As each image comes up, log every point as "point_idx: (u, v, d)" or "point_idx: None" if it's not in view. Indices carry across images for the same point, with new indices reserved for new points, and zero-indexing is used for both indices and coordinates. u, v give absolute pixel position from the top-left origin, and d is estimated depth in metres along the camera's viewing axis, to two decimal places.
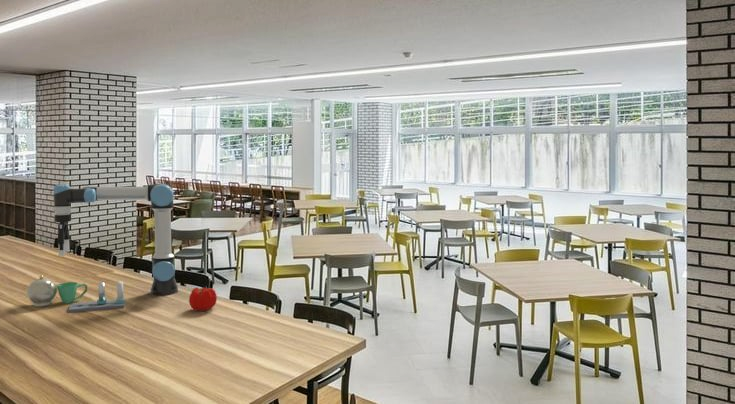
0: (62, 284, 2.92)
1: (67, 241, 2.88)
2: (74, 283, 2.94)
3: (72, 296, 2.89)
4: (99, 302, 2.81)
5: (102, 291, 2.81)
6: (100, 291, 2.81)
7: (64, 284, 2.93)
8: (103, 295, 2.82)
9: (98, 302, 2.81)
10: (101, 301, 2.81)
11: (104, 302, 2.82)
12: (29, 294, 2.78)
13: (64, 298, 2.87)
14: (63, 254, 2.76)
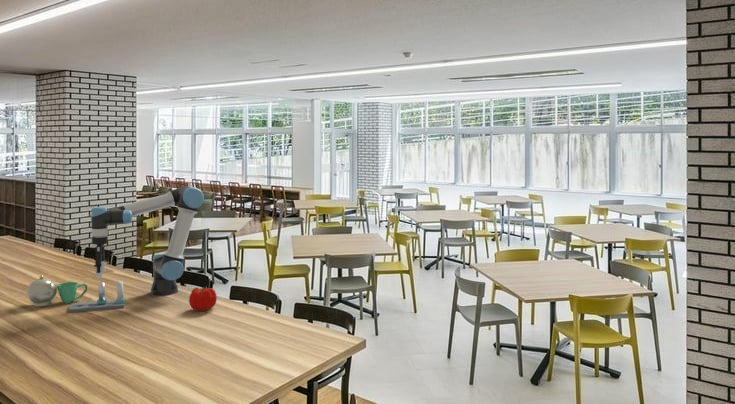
0: (62, 284, 2.92)
1: (103, 263, 2.87)
2: (74, 283, 2.94)
3: (72, 296, 2.89)
4: (99, 302, 2.81)
5: (102, 291, 2.81)
6: (100, 291, 2.81)
7: (64, 284, 2.93)
8: (103, 295, 2.82)
9: (98, 302, 2.81)
10: (101, 301, 2.81)
11: (104, 302, 2.82)
12: (29, 294, 2.78)
13: (64, 298, 2.87)
14: (100, 277, 2.75)
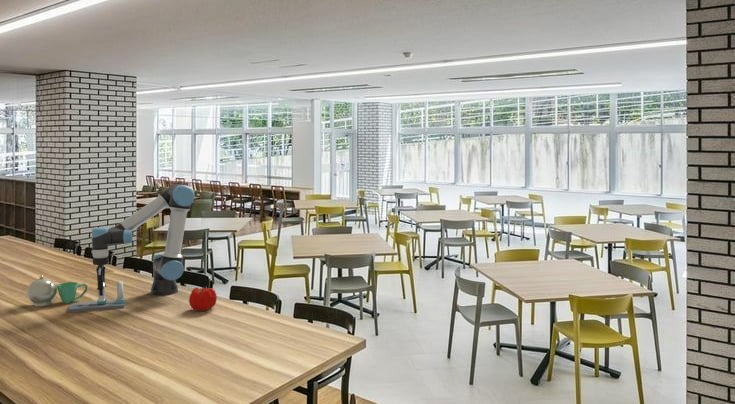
0: (62, 284, 2.92)
1: None
2: (74, 283, 2.94)
3: (72, 296, 2.89)
4: (99, 302, 2.81)
5: None
6: None
7: (64, 284, 2.93)
8: None
9: (98, 302, 2.81)
10: (101, 301, 2.81)
11: (104, 302, 2.82)
12: (29, 294, 2.78)
13: (64, 298, 2.87)
14: (103, 299, 2.81)
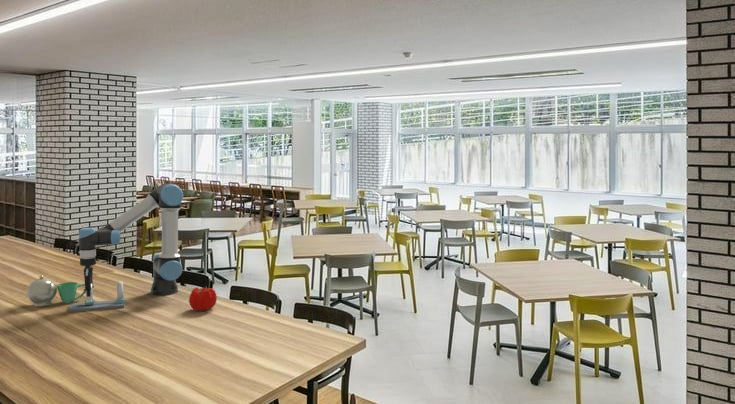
0: (62, 284, 2.92)
1: None
2: (74, 283, 2.94)
3: (72, 296, 2.89)
4: (87, 303, 2.79)
5: None
6: None
7: (64, 284, 2.93)
8: None
9: (86, 303, 2.79)
10: (89, 302, 2.79)
11: (92, 303, 2.80)
12: (29, 294, 2.78)
13: (64, 298, 2.87)
14: (90, 300, 2.79)
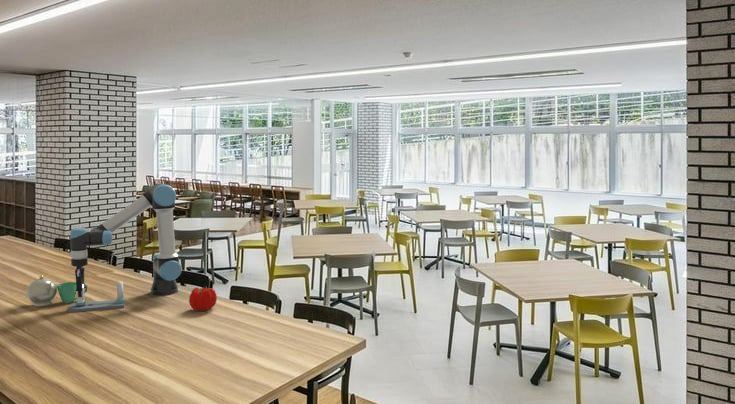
0: (62, 284, 2.92)
1: None
2: (74, 283, 2.94)
3: (72, 296, 2.89)
4: (78, 304, 2.77)
5: None
6: None
7: (64, 284, 2.93)
8: None
9: (77, 304, 2.77)
10: (80, 303, 2.78)
11: (83, 304, 2.78)
12: (29, 294, 2.78)
13: (64, 298, 2.87)
14: (82, 301, 2.77)
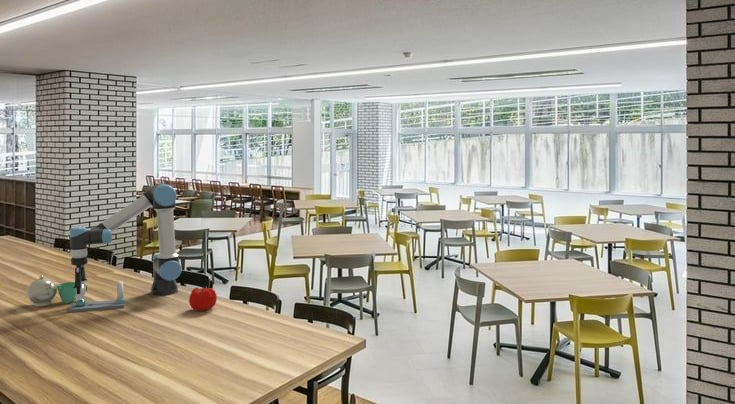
0: (62, 284, 2.92)
1: (83, 283, 2.85)
2: (74, 283, 2.94)
3: (72, 296, 2.89)
4: (78, 304, 2.77)
5: None
6: None
7: (64, 284, 2.93)
8: (82, 297, 2.78)
9: (77, 304, 2.77)
10: (80, 303, 2.78)
11: (83, 304, 2.78)
12: (29, 294, 2.78)
13: (64, 298, 2.87)
14: (80, 298, 2.72)
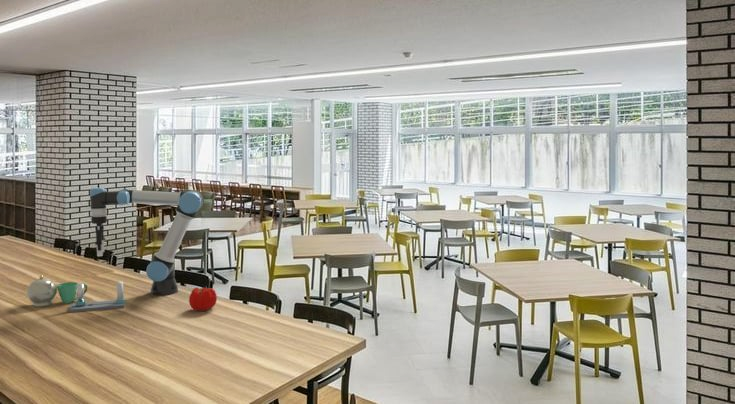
0: (62, 284, 2.92)
1: (102, 242, 2.99)
2: (74, 283, 2.94)
3: (72, 296, 2.89)
4: (78, 304, 2.77)
5: (81, 292, 2.77)
6: (79, 293, 2.77)
7: (64, 284, 2.93)
8: (82, 297, 2.78)
9: (77, 304, 2.77)
10: (80, 303, 2.78)
11: (83, 304, 2.78)
12: (29, 294, 2.78)
13: (64, 298, 2.87)
14: (101, 254, 2.87)
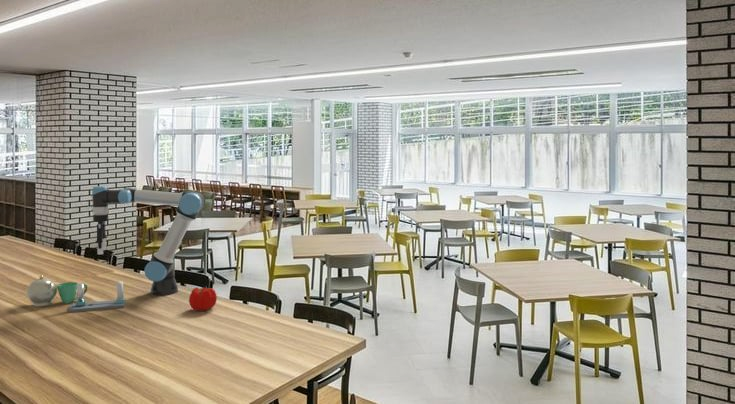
0: (62, 284, 2.92)
1: (104, 240, 3.01)
2: (74, 283, 2.94)
3: (72, 296, 2.89)
4: (78, 304, 2.77)
5: (81, 292, 2.77)
6: (79, 293, 2.77)
7: (64, 284, 2.93)
8: (82, 297, 2.78)
9: (77, 304, 2.77)
10: (80, 303, 2.78)
11: (83, 304, 2.78)
12: (29, 294, 2.78)
13: (64, 298, 2.87)
14: (101, 252, 2.89)
